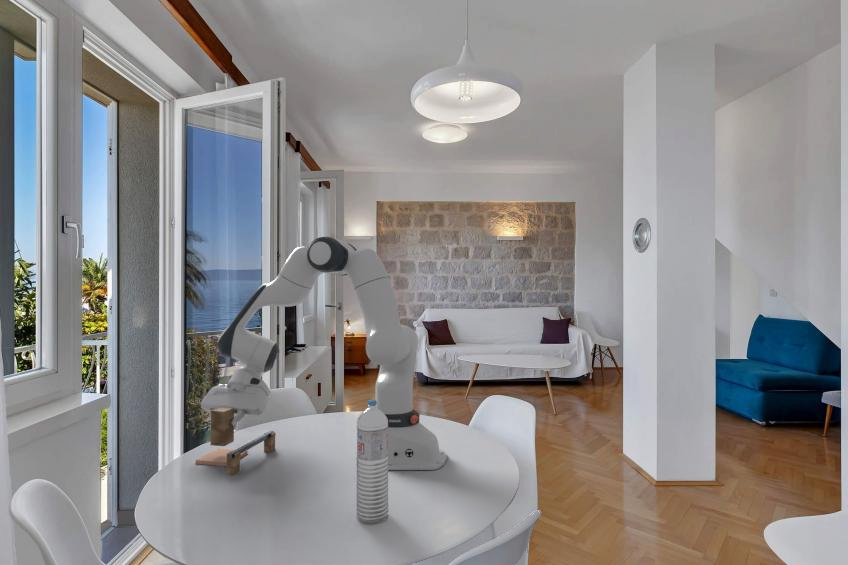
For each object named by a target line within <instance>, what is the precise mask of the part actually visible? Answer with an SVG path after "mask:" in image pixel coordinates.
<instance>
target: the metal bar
mask: <svg viewBox="0 0 848 565" xmlns="http://www.w3.org/2000/svg"><path fill="white" fill-rule="evenodd" d="M267 432H268V433H266V432H265V433H266V434H264V433H263V434H262V435H260V436H259V437H257V438H254V439H253V440H251V441H250V442H247V443H246V444H243V445H242V446H240V447H238V448H236V449H233V450H234V451H232V452H231V453H229V454H228V458H230V459H232V458H234V454H236V453H238V452H240V454H241V453H243V452H245V451H248V450H250V449H252V448H253V447H255V446H257V445H259V444H261V443H262V442H264V440H266V439H268V438H269V437H271V434H272V433H274V432H275V431H274V430H269V431H267Z"/></svg>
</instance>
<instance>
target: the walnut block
mask: <svg viewBox="0 0 848 565" xmlns="http://www.w3.org/2000/svg"><path fill="white" fill-rule="evenodd" d="M234 417H235V414H234V408H228V407H220V408H217V409H214V410H212V411H211V412H210V446H216V447H219V446H220V447H225V446H227V445H229V444H232V443H233V442H234V441H235V436H234V435H235V426H230V425H229V422H230V419H231V418H234Z"/></svg>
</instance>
